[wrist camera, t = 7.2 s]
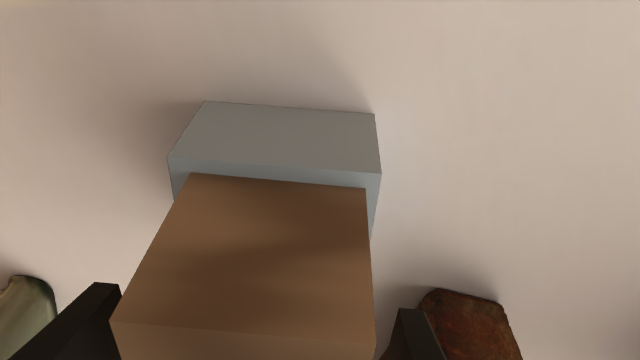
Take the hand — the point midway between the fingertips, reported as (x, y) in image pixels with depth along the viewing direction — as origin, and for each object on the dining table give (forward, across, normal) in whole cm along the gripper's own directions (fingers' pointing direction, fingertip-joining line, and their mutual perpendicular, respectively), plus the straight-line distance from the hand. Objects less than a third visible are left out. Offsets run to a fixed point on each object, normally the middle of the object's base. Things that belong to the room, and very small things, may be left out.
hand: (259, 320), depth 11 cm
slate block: (+7, 0, 0) cm, 7 cm away
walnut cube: (+3, 0, 0) cm, 3 cm away
